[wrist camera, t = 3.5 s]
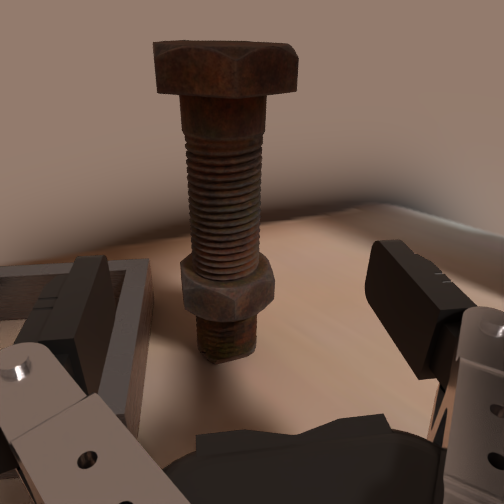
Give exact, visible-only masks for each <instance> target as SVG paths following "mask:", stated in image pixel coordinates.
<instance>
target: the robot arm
mask: <svg viewBox="0 0 504 504" xmlns="http://www.w3.org/2000/svg"><path fill="white" fill-rule="evenodd" d="M365 295H366V298H367V301H368V303H369V305H370V306H371V308H372V309H373V311H374V312H375V314H376V315H377V317H378V318H379V320H380V321H381V323H382V325H383V326H384V328H385V329H386V331H387V332H388V334H389V335H390V337H391V338H392V340H393V341H394V343H395V344H396V346H397V348H398V349H399V351H400V352H401V354H402V355H403V357H404V358H405V360H406V361H407V363H408V364H409V366H410V367H411V369H412V371H413V372H414V374H415V375H416V377H417V378H418V380H423V379H433V378H437V380H438V381H439V385H438V388H437V391H436V395H435V400H434V405H433V410H432V415H431V420H430V425H429V430H428V435H427V439H424V438H422V437H420V436H417V435H414V434H411V433H408V432H404V431H400V430H395V429H391V428H390V426H389V424H388V422H387V420H386V418H385V416H384V414H376V415H367V416H358V417H349V418H341V419H337V420H335V421H332V422H329V423H327V424H324V425H322V426H319V427H317V428H314V429H311V430H309V431H306V432H304V433H301V434H298V435H287V434H278V433H270V432H261V431H252V430H236V431H227V432H218V433H210V434H201V435H196V451H195V452H192V453H190V454H187V455H185V456H183V457H181V458H179V459H177V460H175V461H174V462H172V463H171V464H169V465H168V466H166V467H165V468H164V469H163V470H162V469H161V468H160V467H159V466H158V465H157V463H156V462H155V461H154V460H153V459H152V458H151V456H150V455H149V454H148V453H147V452H146V450H145V449H144V448H143V447H142V446H141V444H140V443H139V442H138V441H137V440H136V439H135V437H134V436H133V435H132V434H131V433H130V431H129V430H128V429H127V428H126V427H125V426H124V424H123V423H122V422H121V421H120V420H119V418H118V417H117V416H116V415H115V414H114V413H113V411H112V410H111V409H110V408H109V407H108V405H107V404H106V403H105V402H104V401H103V400H102V398H101V397H100V396H99V395H98V390H99V386H100V382H101V378H102V373H103V369H104V365H105V361H106V356H107V352H108V348H109V344H110V339H111V335H112V331H113V327H114V322H115V315H116V306H115V298H114V292H113V287H112V282H111V276H110V271H109V265H108V261H107V258H106V256H105V255H95V256H78V257H76V259H75V261H74V263H73V266H72V268H71V270H70V272H69V274H64V275H57V276H56V277H55V278H54V279H52V280H51V281H50V282H49V283H47V284H46V285H45V286H44V288H43V290H42V291H41V293H40V295H39V297H38V301H36V303H35V305H34V306H33V308H32V309H33V311H31V312H30V314H29V316H28V318H27V320H26V321H25V323H24V325H23V327H22V329H21V331H20V333H19V335H18V336H17V338H16V340H15V342H14V344H13V345H12V346H9V347H6V348H4V349H2V350H0V474H2V473H5V472H7V471H10V470H13V469H16V471H17V473H18V475H19V477H20V479H21V481H22V483H23V484H24V486H25V488H26V490H27V492H28V494H29V496H30V498H31V500H32V502H33V503H34V504H504V312H503V311H500V310H497V309H494V308H489V307H480V306H479V307H478V306H477V305H476V304H475V303H474V302H473V301H472V300H471V299H470V298H469V297H467V296H466V295H465V294H464V293H463V292H462V291H461V290H460V289H459V288H458V287H457V286H456V285H455V284H454V283H453V282H451V280H450V279H449V278H448V277H447V276H446V275H445V274H442V271H441V270H440V269H439V268H438V267H437V266H436V265H435V264H434V263H433V262H431V261H429V260H427V259H425V258H424V257H422V256H420V255H418V254H414V252H413V251H412V250H411V249H410V248H409V247H408V246H407V245H406V244H405V243H404V242H403V241H401V240H383V241H375V242H374V243H373V245H372V249H371V254H370V259H369V264H368V270H367V275H366V280H365Z"/></svg>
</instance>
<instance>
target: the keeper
mask: <svg viewBox="0 0 504 504" xmlns="http://www.w3.org/2000/svg"><path fill="white" fill-rule="evenodd" d="M108 265H109V271H110V276H111V282H112V287H113V292H114V298H115V306H116V315H115V322H114V327H113V331H112V335H111V339H110V344H109V348H108V352H107V356H106V361H105V365H104V369H103V373H102V378H101V382H100V386H99V390H98V395H99V396H100V397H101V398H102V400H103V401H104V402H105V403H106V404H107V405H108V407H109V408H110V409H111V410H112V411H113V413H114V414H115V415H116V416H117V417H118V418H119V420H120V421H121V422H122V423H123V424H124V426H125V427H126V428H127V429H128V430H129V431H130V433H131V434H132V435H133V436H134V437H135V439H136V440H137V438H138V430H139V422H140V413H141V405H142V396H143V388H144V379H145V371H146V363H147V354H148V346H149V337H150V329H151V320H152V312H153V303H154V294H153V286H152V277H151V269H150V261H149V259H131V260H112V261H108ZM72 266H73V263H56V264H37V265H18V266H0V320H13V319H27V318H28V316H29V314H30V312H31V311H33V309H32V308H33V306H34V305H35V303H36V301H38V297H39V295H40V293H41V291H42V290H43V288H44V286H45V285H46V284H47V283H49V282H50V281H51V280H52V279H54V278H55V277H56V276H57V275H64V274H69V272H70V270H71V268H72ZM16 477H19V475H18V473H17V471H16V469H13V470H10V471H7V472H5V473H2V474H0V479H8V478H16Z"/></svg>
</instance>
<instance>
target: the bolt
mask: <svg viewBox="0 0 504 504" xmlns="http://www.w3.org/2000/svg"><path fill="white" fill-rule="evenodd" d="M153 53H154V63H155V74H156V85H157V93H160V94H173V95H179V97H180V111H181V124H182V131H183V133H184V135H185V141H186V142H187V143H186V144H185V148H186V149H187V150H188V151H186V156H187V158H188V159H187V160H186V164H187V165H188V167H187V173H188V176H187V179H188V188H189V191H188V195H189V196H190V197H189V199H188V200H189V203H190V204H189V209H190V213H189V214H190V217H191V218H190V223H191V236H192V237H191V242H192V245H191V248H192V253H191V254H189V255H188V256H187V257H186V258H185V259H184V260H182V261H181V262H180V267H181V280H182V291H183V300H184V307H185V310H187V311H189V312H191V313H192V314H194V315H196V322H197V324H196V326H197V342H198V349H199V351H200V353H201V352H202V353H205V354H203V356H205V357H206V358H207V359H208V361H210V362H212V363H214V364H220V363H224V362H228V361H232V360H236V359H240V358H243V357H247V356H249V355H250V354H252V353H253V352H254V351H255V348H256V337H257V336H256V329H257V325H256V324H257V314H258V313H259V312H260V311H262V310H263V309H264V308H265V307H266V306H267V305H268V304H269V303H270V302H272V301H273V300H274V289H275V279H274V275H273V271H272V268H271V265H270V263H269V260H268V259H267V258H266V256H264V255H263V254H262V253H260V252H259V244H260V242H259V238H260V235H259V232H260V228H259V226H260V221H259V220H260V211H261V209H260V205H261V201H260V191H261V187H260V184H261V179H260V178H261V167H262V163H261V161H262V156H261V154H262V147H261V145H262V144H263V134H264V132H265V120H266V98H267V95H273V94H282V93H290V92H296V91H297V77H298V61H299V58H298V56H297V54H296V52H295V50H294V49H293V48H292V46H290V45H289V44H285V43H269V42H250V41H189V40H179V41H161V42H153Z"/></svg>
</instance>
